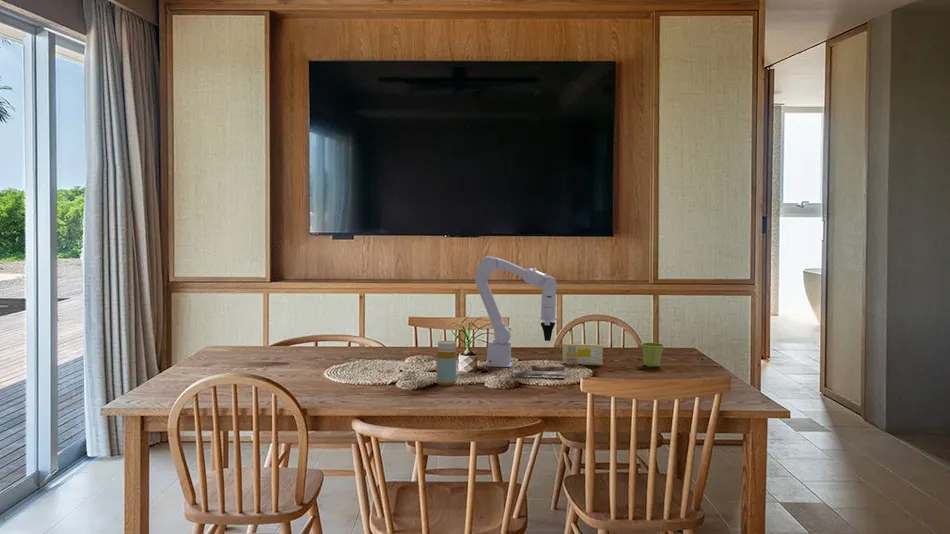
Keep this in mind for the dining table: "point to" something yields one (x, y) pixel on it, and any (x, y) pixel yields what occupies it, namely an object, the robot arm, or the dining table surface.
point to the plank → (548, 367)
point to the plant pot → (652, 353)
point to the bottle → (446, 363)
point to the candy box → (583, 354)
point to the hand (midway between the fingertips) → (547, 340)
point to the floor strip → (537, 373)
